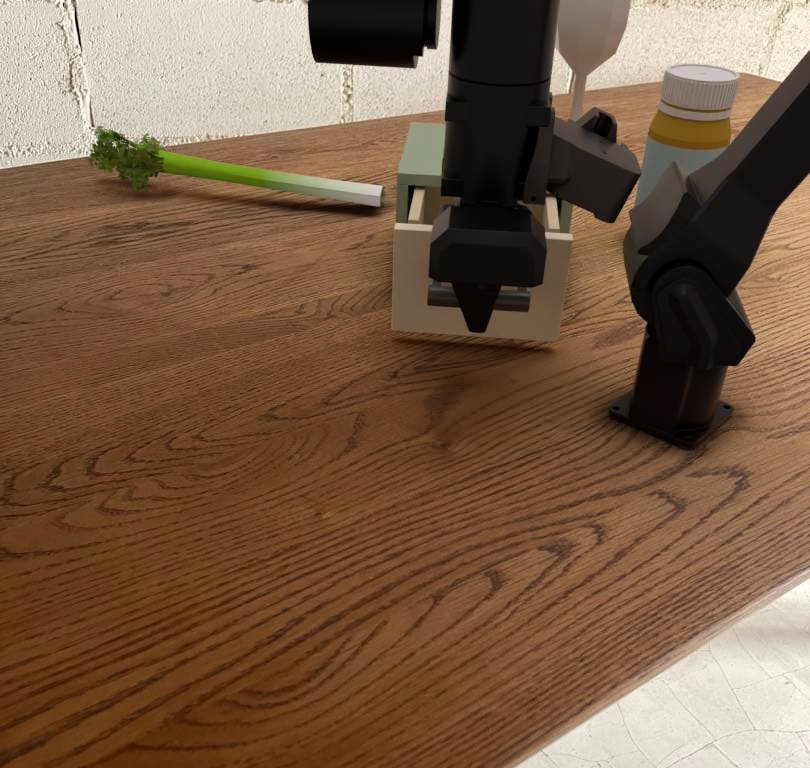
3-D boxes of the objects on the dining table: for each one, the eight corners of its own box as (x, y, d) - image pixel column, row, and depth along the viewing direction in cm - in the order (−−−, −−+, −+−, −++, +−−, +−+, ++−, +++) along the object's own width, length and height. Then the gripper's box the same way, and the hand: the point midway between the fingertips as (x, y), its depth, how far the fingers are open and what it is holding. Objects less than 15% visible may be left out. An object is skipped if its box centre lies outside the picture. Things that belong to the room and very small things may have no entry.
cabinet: (559, 303, 77) (576, 183, 71) (393, 292, 78) (396, 172, 71) (552, 239, 88) (567, 130, 81) (407, 230, 88) (410, 121, 82)
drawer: (561, 373, 66) (577, 267, 61) (385, 361, 66) (387, 255, 61) (551, 273, 79) (564, 179, 74) (404, 264, 80) (408, 170, 75)
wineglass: (521, 135, 113) (544, -70, 100) (582, 128, 116) (611, -71, 103) (560, 156, 107) (589, -58, 94) (622, 149, 110) (659, -60, 97)
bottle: (704, 264, 84) (749, 85, 75) (627, 256, 85) (660, 78, 76) (701, 236, 89) (742, 65, 80) (628, 228, 90) (660, 59, 81)
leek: (374, 241, 90) (76, 190, 92) (384, 224, 96) (105, 177, 98) (381, 175, 87) (72, 123, 88) (392, 162, 93) (102, 114, 94)
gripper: (670, 130, 44) (613, 413, 54) (627, 43, 58) (588, 279, 68) (435, 117, 44) (421, 400, 54) (450, 34, 59) (437, 270, 69)
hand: (477, 330), depth 61 cm, fingers closed
